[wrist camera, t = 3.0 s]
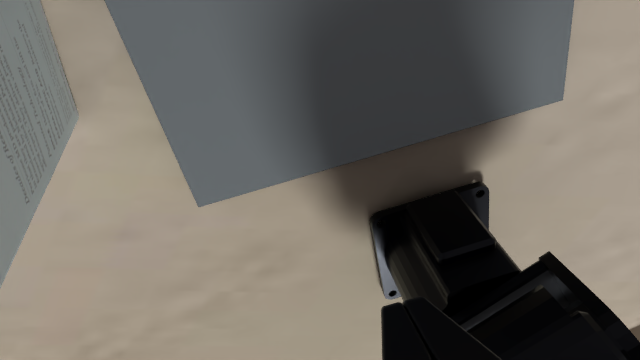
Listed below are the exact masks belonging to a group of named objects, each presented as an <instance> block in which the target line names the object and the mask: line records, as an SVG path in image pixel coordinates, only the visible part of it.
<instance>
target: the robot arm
mask: <svg viewBox="0 0 640 360" xmlns="http://www.w3.org/2000/svg"><path fill="white" fill-rule="evenodd" d="M479 190H480V192H479V193H477V192H478V191H479ZM476 193H477V194H476ZM380 220H383V221H382V222H381V223H378V222H379V221H380ZM370 226H371V231H372V237H373V242H374V248H375V253H376V259H377V264H378V270H379V275H380V281H381V286H382V291H383V293H384V296H385V298H387V299H395V298H398V297H402V299H403V303H400V302H397V303H394V304H390V305H387V306H383V307H382V309H381V323H382V360H640V342H639V341H638V340H637V338H636V337H635V336H634V335H633V334H632V333H631V331H630V330H629V329H628V328H627V327H626V326H625V325H624V323H623V322H622V321H621V320H620V319H619V318H618V317H617V316H616V315H615V314H614V313H613V312H612V311H611V309H609V308H608V307H607V306H606V305H605V304H604V303H603V302H602V301H601V300H600V299H599V298H598V297H597V296H596V295H595V294H594V293H593V292H592V291H591V290H590V289H589V288H588V287H587V286H585V285H584V284H583V283H582V282H581V281H580V280H579V279H578V278H577V277H576V276H575V275H574V274H573V273H572V272H571V271H570V270H569V269H567V268H566V267H565V266H564V265H563V264H562V263H561V262H560V261H559V260H558V259H557V258H556V257H555V256H554V255H553V254H552V253H551V252H547V253H545V254H544V255H542V256H541V257H539V261H537V262H535V263H534V264H532V265H531V266H529V267H528V268H526V269H524V270H523V271H521V270H520V269H519V268H518V266H517V265H516V264H515V263H514V261H513V260H512V259H511V258H510V257H509V255H508V254H507V253H506V252H505V250H504V249H503V248H502V247H501V245H500V244H499V243H498V242H497V240H496V239H495V237H494V236H493V235H492V234H491V233H490V231H489V189H488V188H487V186H486V185H485V184H484V183H482V182H476V183H473V184H469V185H466V186H463V187H459V188H456V189H453V190H450V191H446V192H443V193H440V194H436V195H433V196H430V197H426V198H423V199H420V200H416V201H413V202H410V203H407V204H403V205H400V206H397V207H393V208H390V209H387V210H383V211H380V212H377V213H375V214H374V215H372V216H371V218H370Z"/></svg>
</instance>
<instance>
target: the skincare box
mask: <svg viewBox="0 0 640 360" xmlns="http://www.w3.org/2000/svg"><path fill="white" fill-rule="evenodd" d="M78 118H79V114H78V111H77V109H76V106H75V103H74V100H73V97H72V94H71V91H70V88H69V85H68V82H67V79H66V76H65V74H64V71H63V67H62V64H61V62H60V58H59V55H58V52H57V49H56V46H55V43H54V40H53V37H52V34H51V31H50V28H49V25H48V22H47V19H46V16H45V13H44V10H43V7H42V4H41V1H40V0H0V288H1V285H2V283H3V281H4V279H5V277H6V275H7V272H8V270H9V268H10V266H11V264H12V262H13V259H14V257H15V255H16V253H17V251H18V249H19V246H20V244H21V242H22V240H23V238H24V235H25V233H26V231H27V229H28V227H29V224H30V222H31V220H32V218H33V216H34V213H35V211H36V209H37V207H38V205H39V203H40V201H41V199H42V196H43V194H44V192H45V190H46V188H47V185H48V184H49V182H50V180H51V177H52V175H53V173H54V170H55V168H56V166H57V164H58V162H59V160H60V157H61V155H62V153H63V151H64V149H65V147H66V144H67V142H68V140H69V138H70V136H71V134H72V131H73V129H74V127H75V125H76V123H77V121H78Z"/></svg>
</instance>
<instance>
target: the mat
mask: <svg viewBox="0 0 640 360" xmlns="http://www.w3.org/2000/svg"><path fill="white" fill-rule="evenodd" d="M105 3H106V5H107V7H108V9H109V11H110V14H111V16H112V18H113V20H114V22H115V25H116V27H117V29H118V31H119V33H120V36H121V38H122V40H123V42H124V44H125V47H126V49H127V51H128V53H129V55H130V58H131V60H132V62H133V64H134V66H135V69H136V71H137V73H138V75H139V77H140V80H141V82H142V84H143V86H144V88H145V91H146V93H147V95H148V97H149V99H150V102H151V104H152V106H153V108H154V110H155V113H156V115H157V117H158V119H159V121H160V124H161V126H162V128H163V130H164V132H165V135H166V137H167V139H168V141H169V143H170V146H171V148H172V150H173V152H174V154H175V157H176V159H177V161H178V163H179V165H180V168H181V170H182V172H183V174H184V176H185V179H186V181H187V183H188V185H189V187H190V190H191V192H192V194H193V196H194V198H195V201H196V203H197V205H198V207H201V206H205V205H208V204H212V203H215V202H218V201H222V200H225V199H229V198H232V197H235V196H239V195H242V194H246V193H249V192H252V191H256V190H259V189H263V188H266V187H269V186H273V185H276V184H279V183H283V182H286V181H290V180H293V179H296V178H300V177H303V176H307V175H310V174H313V173H317V172H320V171H324V170H327V169H330V168H334V167H337V166H341V165H344V164H347V163H351V162H354V161H358V160H361V159H364V158H368V157H371V156H375V155H378V154H381V153H385V152H388V151H392V150H395V149H398V148H402V147H405V146H409V145H412V144H415V143H419V142H422V141H426V140H429V139H432V138H436V137H439V136H443V135H446V134H449V133H453V132H456V131H460V130H463V129H466V128H470V127H473V126H477V125H480V124H483V123H487V122H490V121H494V120H497V119H500V118H504V117H507V116H511V115H514V114H517V113H521V112H524V111H527V110H531V109H534V108H538V107H541V106H544V105H548V104H551V103H555V102H558V101H561V100H563V95H564V86H565V77H566V68H567V59H568V51H569V42H570V33H571V24H572V15H573V7H574V0H105Z"/></svg>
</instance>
